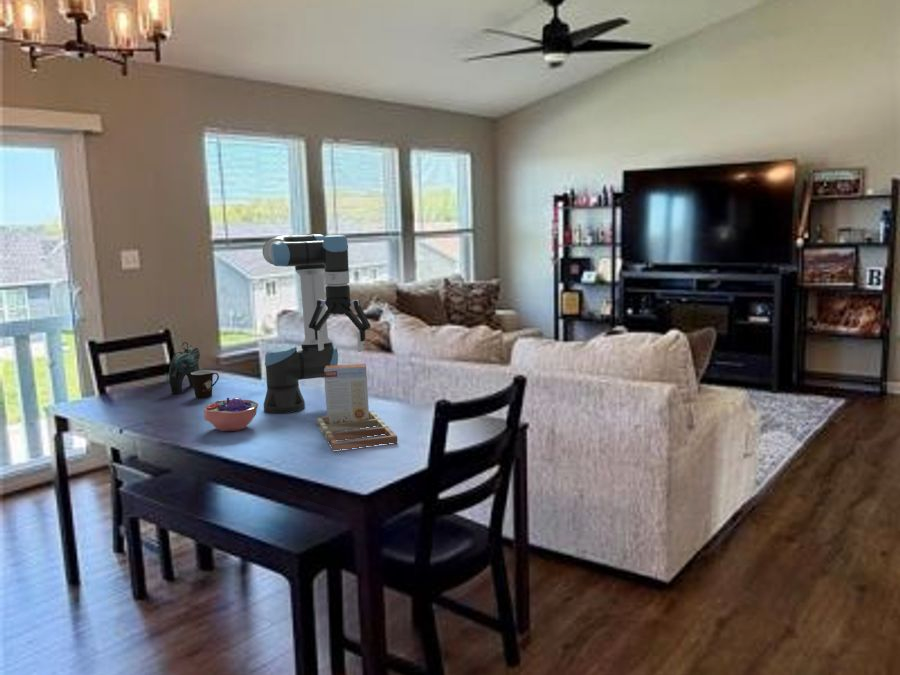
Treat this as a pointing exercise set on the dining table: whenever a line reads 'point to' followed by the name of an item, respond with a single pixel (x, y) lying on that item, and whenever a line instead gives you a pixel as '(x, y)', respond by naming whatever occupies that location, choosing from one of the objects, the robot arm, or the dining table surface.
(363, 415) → the cracker box
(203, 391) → the coffee mug
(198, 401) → the dining table surface
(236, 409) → the cell model
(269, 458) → the dining table surface
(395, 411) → the dining table surface
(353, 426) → the rail
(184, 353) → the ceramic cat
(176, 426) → the dining table surface
